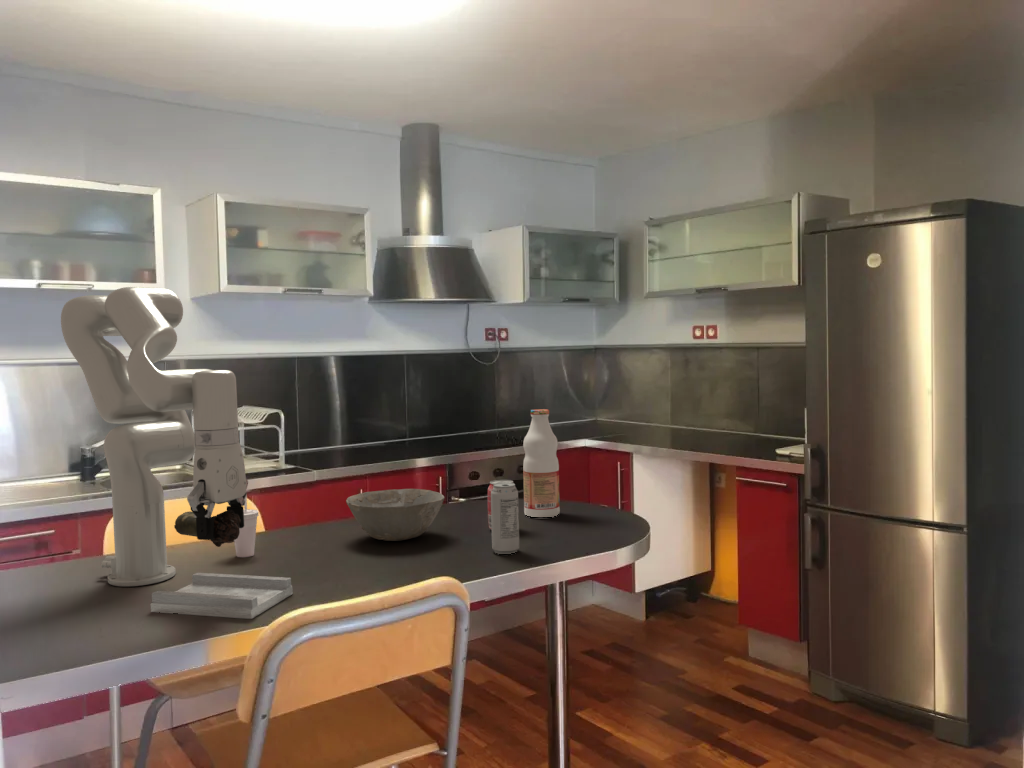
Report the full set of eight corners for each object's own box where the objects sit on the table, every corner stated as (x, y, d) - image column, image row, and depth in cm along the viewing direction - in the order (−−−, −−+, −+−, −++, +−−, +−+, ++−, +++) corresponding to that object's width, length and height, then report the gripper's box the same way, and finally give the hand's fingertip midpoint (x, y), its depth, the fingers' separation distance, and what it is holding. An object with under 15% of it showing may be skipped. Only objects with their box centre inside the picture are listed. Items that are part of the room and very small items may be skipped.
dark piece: (174, 536, 156) (173, 507, 156) (208, 530, 161) (207, 502, 161) (218, 550, 144) (217, 518, 144) (254, 543, 149) (253, 512, 149)
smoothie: (265, 554, 185) (263, 492, 184) (239, 560, 180) (236, 496, 179) (251, 549, 189) (248, 489, 188) (224, 555, 184) (222, 493, 184)
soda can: (522, 528, 204) (521, 480, 203) (506, 534, 198) (505, 485, 198) (498, 525, 208) (497, 478, 207) (482, 531, 202) (481, 482, 201)
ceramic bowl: (452, 545, 189) (450, 502, 189) (349, 554, 184) (348, 509, 183) (437, 524, 211) (436, 486, 210) (345, 531, 205) (344, 491, 205)
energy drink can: (511, 547, 186) (510, 481, 185) (524, 553, 181) (522, 485, 180) (487, 550, 184) (485, 483, 183) (499, 557, 178) (498, 488, 177)
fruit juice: (516, 515, 219) (514, 410, 217) (540, 510, 226) (538, 407, 224) (543, 520, 212) (541, 412, 211) (567, 514, 219) (565, 409, 218)
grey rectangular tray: (151, 611, 147) (150, 594, 146) (199, 588, 160) (198, 572, 160) (251, 618, 142) (250, 600, 142) (292, 593, 155) (291, 577, 155)
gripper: (206, 444, 140) (211, 545, 141) (261, 433, 157) (265, 523, 158) (167, 444, 142) (172, 544, 143) (226, 433, 159) (230, 522, 159)
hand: (221, 533), depth 150 cm, fingers closed on dark piece, 8 cm apart
